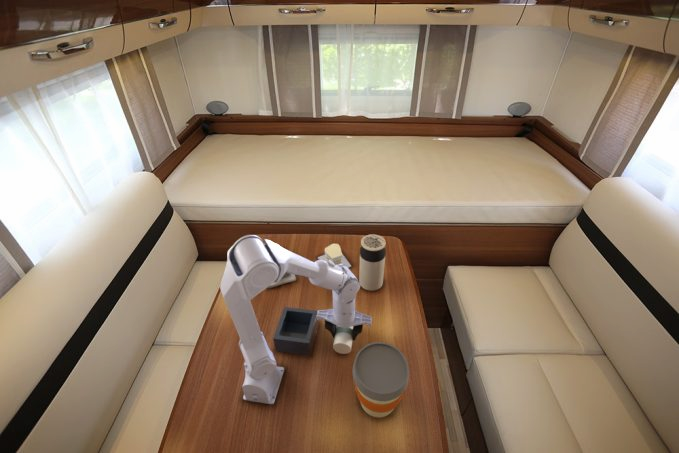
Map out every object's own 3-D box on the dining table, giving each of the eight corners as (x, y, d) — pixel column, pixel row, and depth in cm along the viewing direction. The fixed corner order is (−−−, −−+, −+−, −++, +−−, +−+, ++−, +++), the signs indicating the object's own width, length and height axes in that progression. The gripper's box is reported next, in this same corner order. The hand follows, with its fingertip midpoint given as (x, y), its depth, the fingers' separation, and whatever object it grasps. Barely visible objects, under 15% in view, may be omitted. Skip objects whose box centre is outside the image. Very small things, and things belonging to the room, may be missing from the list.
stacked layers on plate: (351, 266, 118) (351, 254, 115) (329, 274, 115) (328, 263, 112) (339, 249, 125) (338, 238, 122) (317, 257, 122) (316, 246, 119)
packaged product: (255, 246, 121) (281, 239, 124) (257, 255, 124) (283, 248, 126) (265, 279, 107) (295, 271, 110) (268, 289, 110) (296, 281, 113)
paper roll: (351, 354, 91) (350, 344, 88) (333, 352, 92) (332, 342, 89) (355, 327, 98) (355, 316, 95) (338, 325, 99) (337, 314, 96)
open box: (310, 355, 91) (309, 343, 88) (275, 350, 93) (272, 338, 89) (318, 323, 100) (317, 310, 96) (286, 319, 101) (284, 306, 97)
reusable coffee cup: (350, 375, 87) (349, 342, 77) (397, 372, 87) (403, 338, 78) (355, 428, 77) (355, 397, 68) (408, 423, 77) (416, 392, 68)
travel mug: (370, 295, 108) (372, 254, 97) (354, 281, 113) (354, 241, 102) (387, 283, 112) (391, 242, 101) (371, 270, 117) (373, 230, 105)
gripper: (373, 296, 88) (371, 327, 96) (319, 290, 90) (322, 321, 98) (371, 318, 82) (369, 349, 91) (314, 311, 84) (317, 342, 93)
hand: (344, 336), depth 94 cm, fingers closed on paper roll, 5 cm apart
